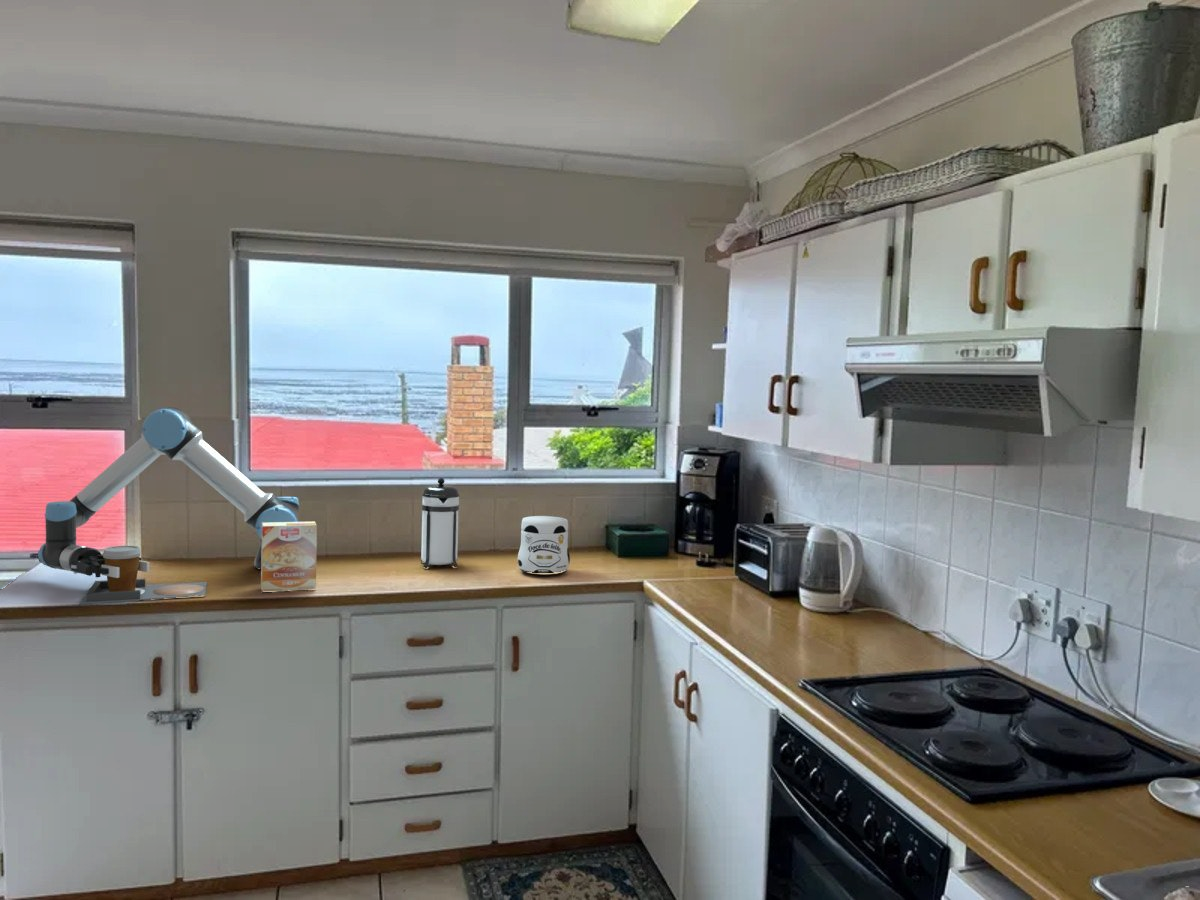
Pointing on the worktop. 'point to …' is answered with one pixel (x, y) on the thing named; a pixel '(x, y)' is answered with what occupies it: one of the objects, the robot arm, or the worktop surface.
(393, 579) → the worktop surface
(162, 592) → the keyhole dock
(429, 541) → the coffee press
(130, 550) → the disposable coffee cup
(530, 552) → the doce de leite jar
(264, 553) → the coffeecake box
